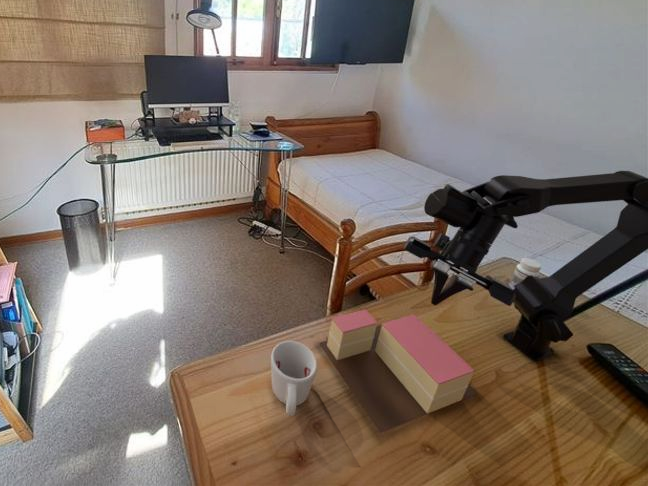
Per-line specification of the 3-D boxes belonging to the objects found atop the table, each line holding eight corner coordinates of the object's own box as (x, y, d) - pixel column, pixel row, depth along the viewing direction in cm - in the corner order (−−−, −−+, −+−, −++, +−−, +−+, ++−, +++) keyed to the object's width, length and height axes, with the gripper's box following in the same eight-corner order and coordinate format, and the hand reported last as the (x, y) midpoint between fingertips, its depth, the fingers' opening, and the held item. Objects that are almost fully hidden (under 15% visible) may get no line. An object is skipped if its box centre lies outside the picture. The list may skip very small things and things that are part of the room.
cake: (405, 341, 71) (414, 314, 69) (461, 400, 60) (475, 370, 57) (374, 350, 69) (381, 323, 66) (427, 414, 58) (439, 383, 55)
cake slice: (358, 336, 72) (365, 309, 69) (370, 350, 69) (377, 322, 66) (326, 345, 70) (331, 317, 67) (337, 360, 67) (343, 332, 64)
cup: (312, 436, 55) (319, 403, 52) (263, 424, 56) (267, 391, 53) (311, 375, 65) (316, 344, 62) (269, 366, 66) (273, 336, 63)
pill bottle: (526, 285, 91) (538, 259, 88) (534, 296, 87) (547, 270, 84) (505, 280, 92) (516, 255, 89) (512, 292, 88) (524, 265, 85)
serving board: (400, 322, 77) (401, 319, 77) (476, 397, 62) (477, 393, 61) (317, 346, 71) (318, 342, 70) (378, 436, 55) (379, 433, 55)
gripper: (517, 256, 68) (476, 319, 71) (422, 210, 76) (388, 269, 79) (537, 267, 58) (488, 340, 61) (425, 213, 66) (386, 280, 69)
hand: (432, 304), depth 68 cm, fingers closed
